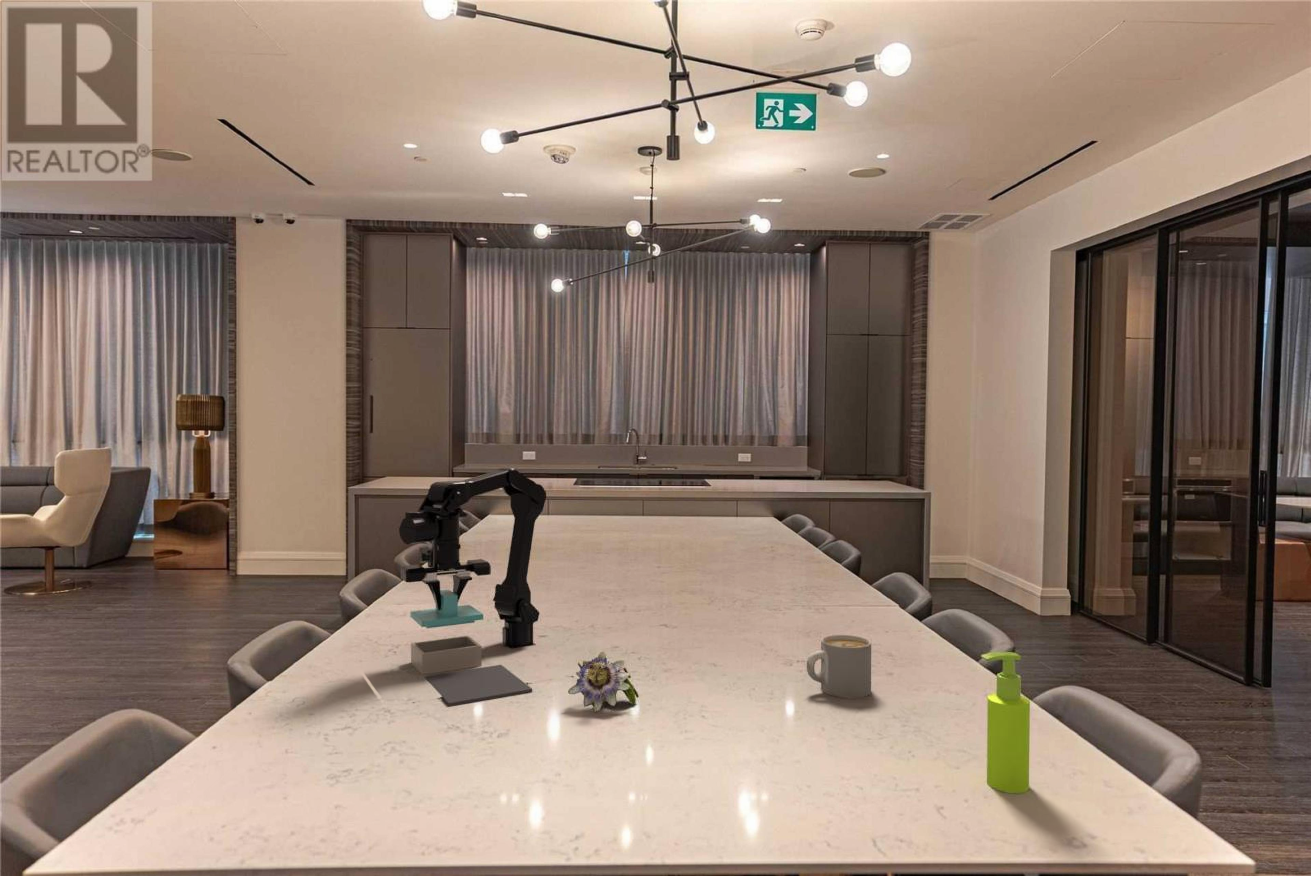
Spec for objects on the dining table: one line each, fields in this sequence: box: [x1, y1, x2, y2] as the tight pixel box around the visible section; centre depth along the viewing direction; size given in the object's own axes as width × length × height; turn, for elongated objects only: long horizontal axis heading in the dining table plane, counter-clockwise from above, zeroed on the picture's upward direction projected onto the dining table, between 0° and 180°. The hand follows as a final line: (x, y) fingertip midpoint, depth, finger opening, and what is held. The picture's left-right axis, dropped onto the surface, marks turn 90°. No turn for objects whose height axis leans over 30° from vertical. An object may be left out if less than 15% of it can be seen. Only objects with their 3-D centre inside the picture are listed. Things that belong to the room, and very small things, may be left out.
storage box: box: [410, 635, 482, 676], centre depth 187 cm, size 13×10×5 cm
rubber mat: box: [423, 664, 533, 707], centre depth 174 cm, size 17×19×1 cm
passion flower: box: [567, 650, 640, 713], centre depth 163 cm, size 11×11×12 cm
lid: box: [409, 589, 484, 629], centre depth 186 cm, size 13×10×6 cm
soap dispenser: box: [980, 651, 1031, 794], centre depth 127 cm, size 6×7×20 cm
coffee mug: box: [806, 634, 872, 699], centre depth 171 cm, size 13×10×10 cm
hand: (446, 609), depth 186 cm, fingers closed on lid, 3 cm apart
